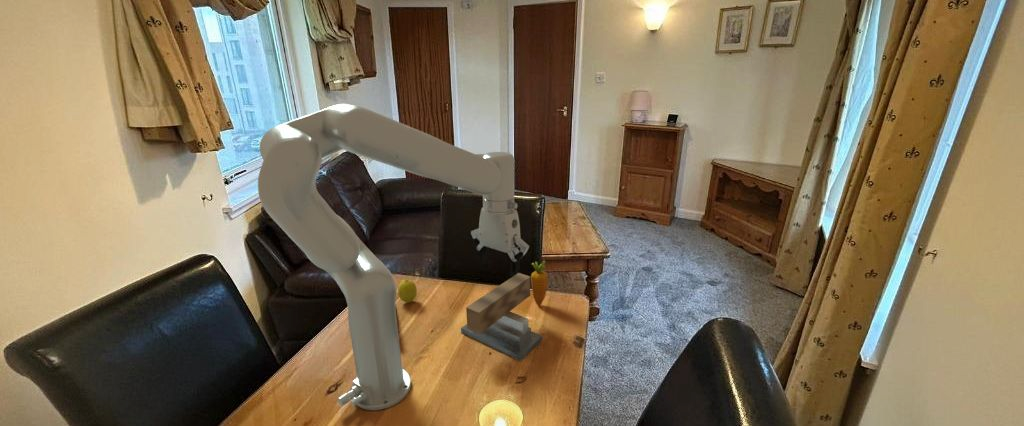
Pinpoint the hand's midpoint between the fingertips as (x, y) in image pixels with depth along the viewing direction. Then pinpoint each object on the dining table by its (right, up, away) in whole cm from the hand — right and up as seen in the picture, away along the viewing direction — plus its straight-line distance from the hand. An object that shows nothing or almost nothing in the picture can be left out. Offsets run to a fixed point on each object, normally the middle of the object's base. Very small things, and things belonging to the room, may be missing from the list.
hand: (498, 268), depth 103 cm
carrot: (+12, -14, +21) cm, 28 cm away
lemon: (-29, -14, +24) cm, 40 cm away
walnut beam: (0, -12, +4) cm, 13 cm away
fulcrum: (0, -19, +7) cm, 21 cm away
